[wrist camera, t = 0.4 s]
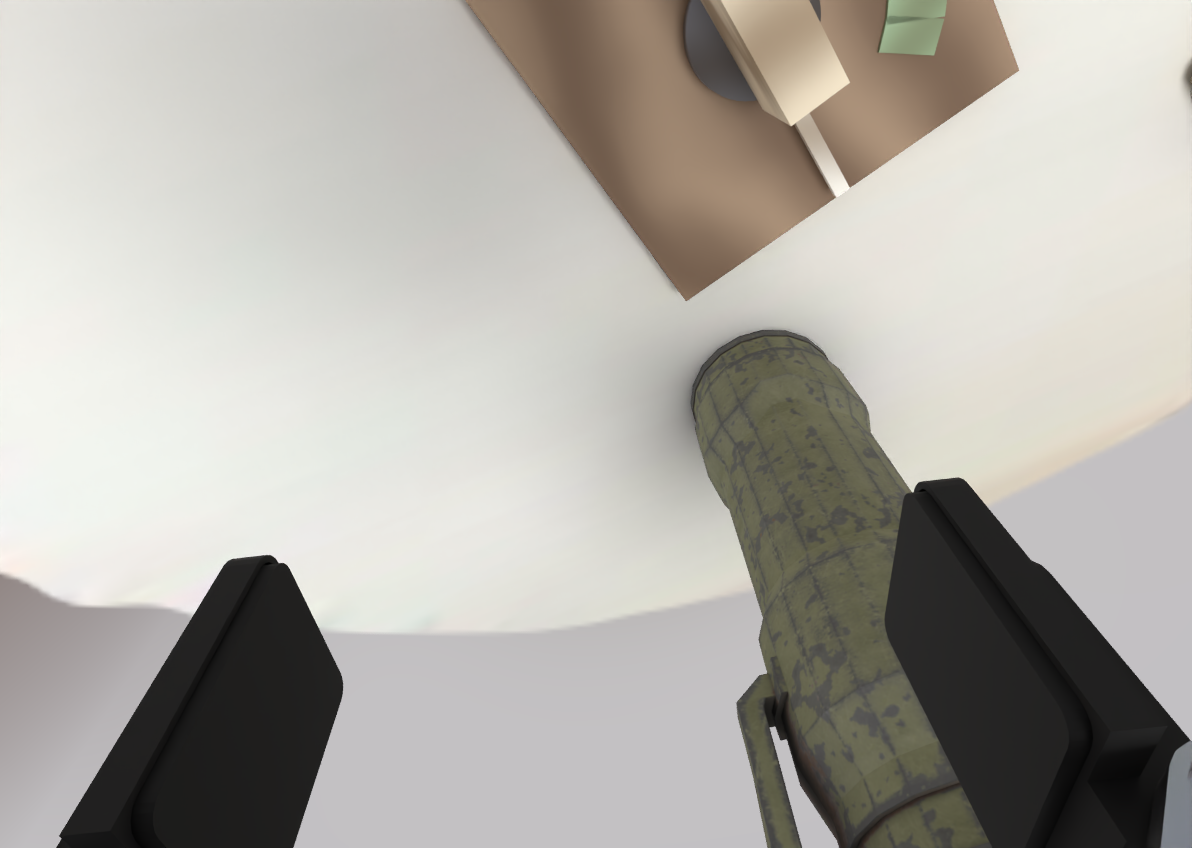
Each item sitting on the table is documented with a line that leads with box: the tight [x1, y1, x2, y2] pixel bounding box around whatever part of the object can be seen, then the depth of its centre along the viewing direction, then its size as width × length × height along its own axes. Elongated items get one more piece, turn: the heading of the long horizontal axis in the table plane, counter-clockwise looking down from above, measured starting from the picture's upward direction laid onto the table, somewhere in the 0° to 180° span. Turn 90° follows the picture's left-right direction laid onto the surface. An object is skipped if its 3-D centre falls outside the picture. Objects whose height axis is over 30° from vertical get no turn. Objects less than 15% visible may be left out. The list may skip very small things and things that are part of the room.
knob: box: [683, 0, 850, 198], centre depth 28 cm, size 12×6×6 cm, turn 37°
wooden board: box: [465, 0, 1019, 301], centre depth 30 cm, size 18×18×2 cm
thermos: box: [691, 330, 992, 848], centre depth 26 cm, size 9×12×35 cm
